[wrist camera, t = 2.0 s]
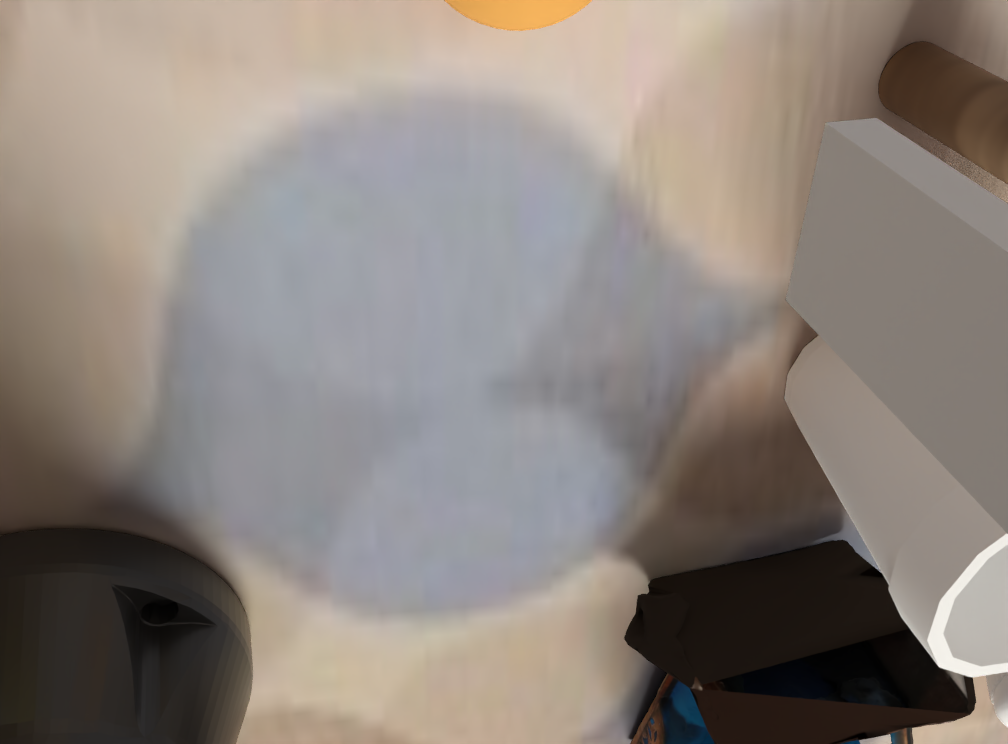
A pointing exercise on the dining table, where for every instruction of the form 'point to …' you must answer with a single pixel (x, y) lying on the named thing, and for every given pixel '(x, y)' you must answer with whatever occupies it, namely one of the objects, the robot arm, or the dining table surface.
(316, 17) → the dining table surface
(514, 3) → the ball
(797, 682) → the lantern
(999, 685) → the white lidded jar
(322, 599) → the dining table surface
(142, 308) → the dining table surface
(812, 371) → the foam cup
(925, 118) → the post
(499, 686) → the dining table surface
